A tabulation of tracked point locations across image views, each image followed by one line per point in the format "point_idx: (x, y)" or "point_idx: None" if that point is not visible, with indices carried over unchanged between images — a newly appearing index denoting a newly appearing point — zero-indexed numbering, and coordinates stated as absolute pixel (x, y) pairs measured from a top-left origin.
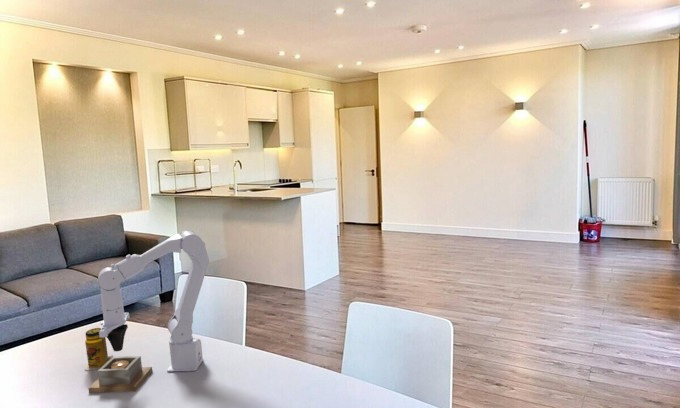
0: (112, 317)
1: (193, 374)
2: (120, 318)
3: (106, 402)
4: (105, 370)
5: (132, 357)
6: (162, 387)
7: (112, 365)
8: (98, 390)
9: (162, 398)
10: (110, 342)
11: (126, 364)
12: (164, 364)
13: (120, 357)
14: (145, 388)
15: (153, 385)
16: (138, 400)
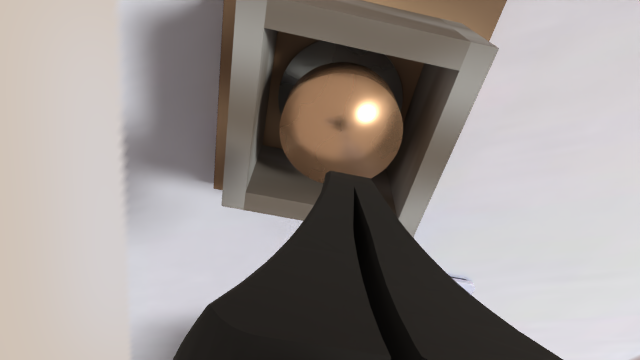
0: None
1: None
2: None
3: (120, 64)
4: (235, 61)
5: (409, 199)
6: (238, 262)
7: (334, 85)
8: None
9: (155, 271)
10: (303, 224)
11: (321, 178)
12: (458, 244)
13: (450, 119)
14: None
15: (261, 231)
16: (140, 200)
